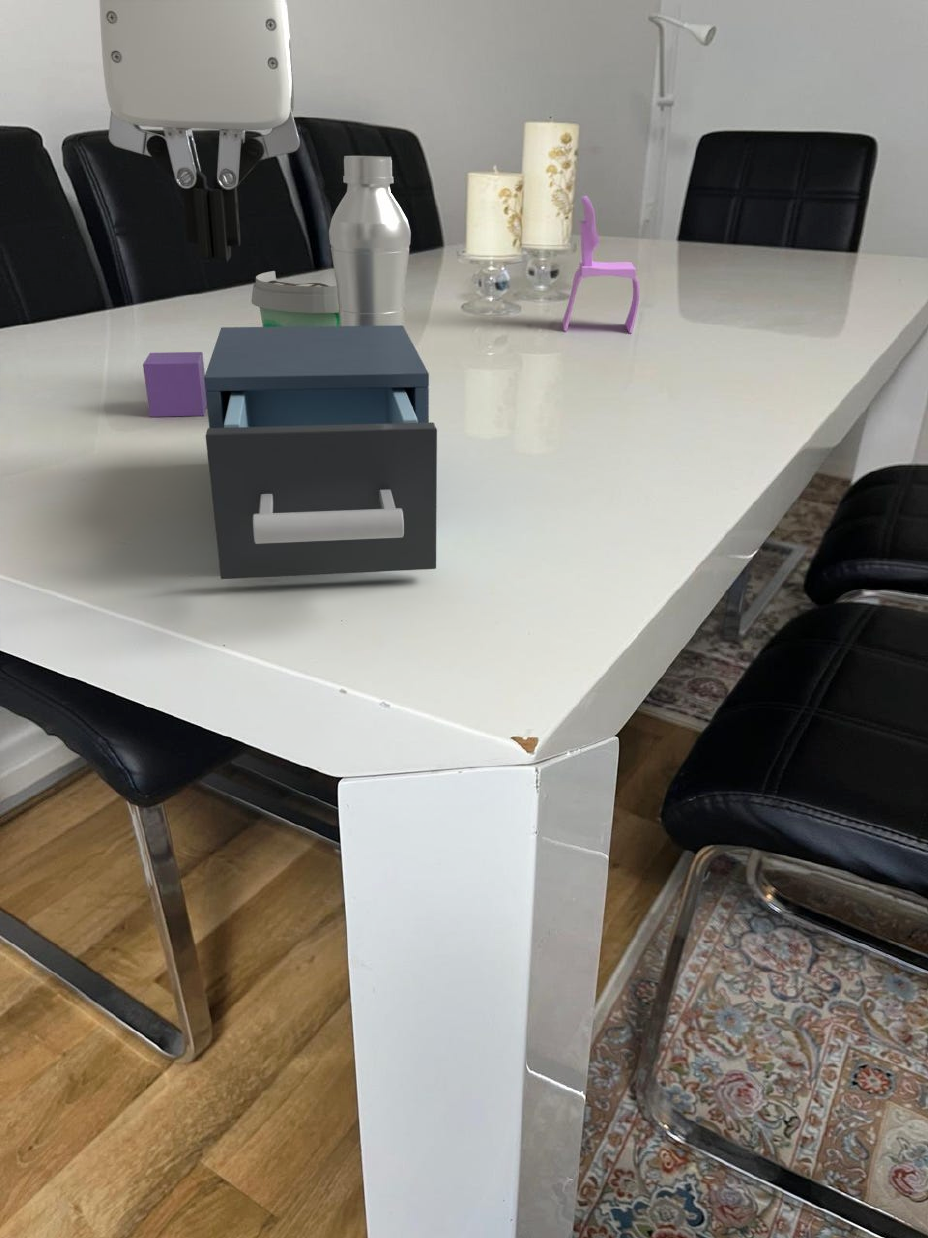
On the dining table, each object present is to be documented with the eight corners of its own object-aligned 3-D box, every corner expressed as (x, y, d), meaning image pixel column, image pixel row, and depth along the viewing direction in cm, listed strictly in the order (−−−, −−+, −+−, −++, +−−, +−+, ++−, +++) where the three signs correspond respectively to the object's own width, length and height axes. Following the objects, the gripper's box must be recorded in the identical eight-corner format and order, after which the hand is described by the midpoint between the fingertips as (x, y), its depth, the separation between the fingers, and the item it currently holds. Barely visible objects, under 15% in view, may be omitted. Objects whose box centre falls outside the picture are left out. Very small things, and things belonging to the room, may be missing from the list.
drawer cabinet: (428, 528, 60) (429, 373, 55) (220, 537, 58) (203, 377, 53) (404, 456, 72) (403, 325, 68) (233, 461, 71) (220, 327, 66)
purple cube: (203, 415, 81) (198, 363, 79) (149, 417, 81) (142, 364, 79) (207, 402, 85) (202, 351, 83) (156, 403, 84) (149, 352, 82)
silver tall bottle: (321, 424, 79) (307, 156, 70) (356, 404, 85) (348, 154, 76) (392, 433, 78) (388, 158, 68) (424, 412, 83) (424, 156, 74)
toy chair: (637, 335, 116) (650, 199, 109) (564, 332, 116) (573, 197, 109) (630, 322, 123) (643, 194, 116) (562, 320, 124) (570, 192, 117)
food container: (230, 391, 88) (219, 277, 84) (277, 379, 93) (270, 270, 88) (330, 414, 82) (325, 292, 78) (376, 399, 87) (373, 283, 82)
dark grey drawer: (448, 608, 48) (450, 457, 44) (214, 620, 46) (196, 465, 43) (409, 485, 64) (408, 367, 60) (234, 492, 62) (222, 370, 59)
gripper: (329, -90, 55) (338, 253, 63) (54, -107, 53) (101, 249, 61) (329, -119, 48) (339, 269, 56) (15, -140, 46) (74, 265, 55)
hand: (215, 258), depth 59 cm, fingers closed
